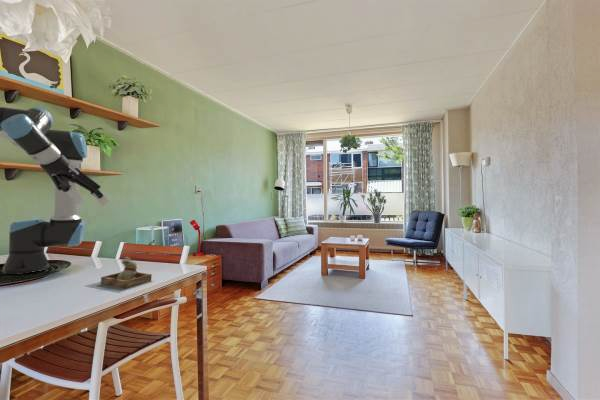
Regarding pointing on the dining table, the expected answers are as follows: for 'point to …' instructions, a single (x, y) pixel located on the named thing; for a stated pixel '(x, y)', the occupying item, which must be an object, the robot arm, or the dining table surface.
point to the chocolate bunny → (128, 270)
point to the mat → (111, 287)
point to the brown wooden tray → (113, 281)
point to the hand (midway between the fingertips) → (93, 202)
